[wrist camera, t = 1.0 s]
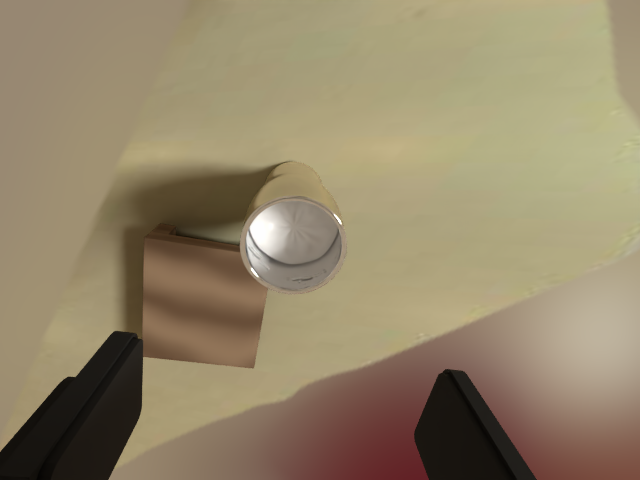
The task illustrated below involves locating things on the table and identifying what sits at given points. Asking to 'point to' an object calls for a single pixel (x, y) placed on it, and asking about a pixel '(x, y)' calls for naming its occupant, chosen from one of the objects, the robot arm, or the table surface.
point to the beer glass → (293, 232)
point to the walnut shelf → (199, 301)
